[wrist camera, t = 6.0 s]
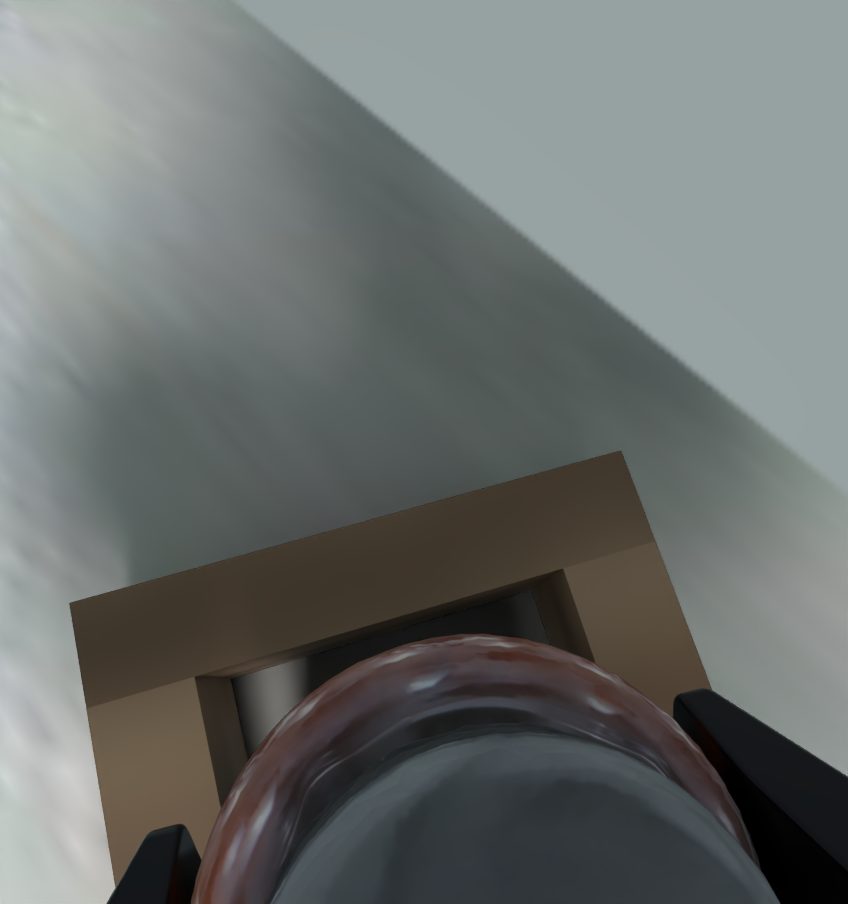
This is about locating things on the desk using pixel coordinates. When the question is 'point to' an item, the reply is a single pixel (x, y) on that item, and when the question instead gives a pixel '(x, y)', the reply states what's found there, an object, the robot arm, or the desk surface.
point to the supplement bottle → (479, 791)
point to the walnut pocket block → (361, 625)
